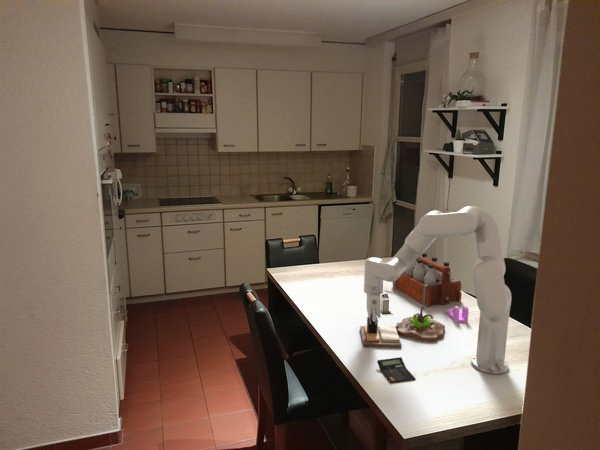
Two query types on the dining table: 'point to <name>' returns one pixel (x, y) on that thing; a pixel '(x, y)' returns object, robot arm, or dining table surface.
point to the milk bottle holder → (429, 282)
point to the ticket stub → (371, 335)
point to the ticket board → (383, 338)
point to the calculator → (395, 370)
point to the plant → (421, 328)
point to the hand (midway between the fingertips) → (372, 330)
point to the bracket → (459, 314)
